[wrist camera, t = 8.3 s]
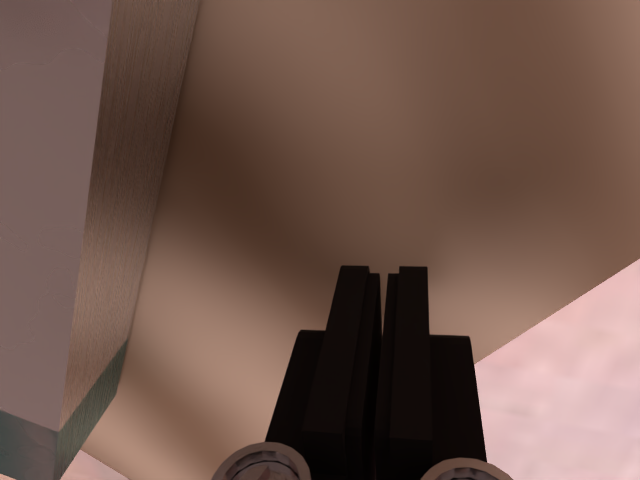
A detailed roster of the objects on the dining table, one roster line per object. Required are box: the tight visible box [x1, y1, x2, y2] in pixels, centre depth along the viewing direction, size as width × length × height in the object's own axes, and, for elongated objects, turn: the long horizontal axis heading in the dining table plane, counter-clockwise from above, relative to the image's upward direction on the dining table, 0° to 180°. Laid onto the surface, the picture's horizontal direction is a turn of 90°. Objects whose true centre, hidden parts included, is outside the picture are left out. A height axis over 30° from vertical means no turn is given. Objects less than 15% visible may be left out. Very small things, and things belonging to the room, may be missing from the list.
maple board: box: [80, 0, 640, 480], centre depth 11 cm, size 22×20×2 cm
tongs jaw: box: [0, 0, 200, 480], centre depth 9 cm, size 14×2×3 cm, turn 160°
